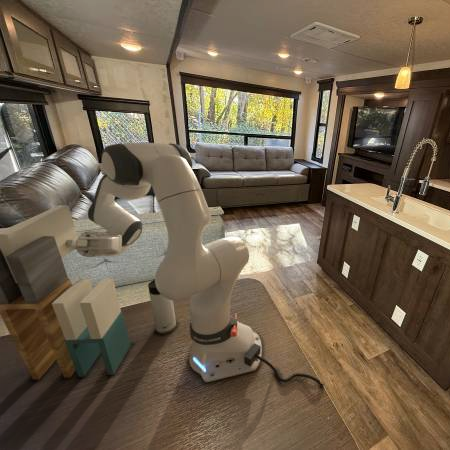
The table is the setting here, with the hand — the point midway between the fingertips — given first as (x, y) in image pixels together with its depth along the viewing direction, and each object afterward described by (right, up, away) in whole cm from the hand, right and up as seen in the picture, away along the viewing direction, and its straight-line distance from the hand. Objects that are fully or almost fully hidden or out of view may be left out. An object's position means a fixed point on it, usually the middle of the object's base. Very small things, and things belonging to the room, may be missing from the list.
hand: (61, 242), depth 70 cm
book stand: (-1, -35, +2) cm, 36 cm away
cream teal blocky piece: (+10, -36, +4) cm, 37 cm away
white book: (0, -5, -3) cm, 6 cm away
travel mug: (+21, -31, +17) cm, 41 cm away
